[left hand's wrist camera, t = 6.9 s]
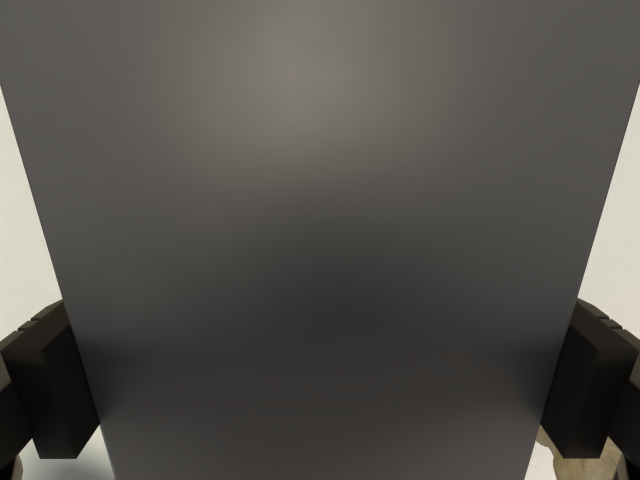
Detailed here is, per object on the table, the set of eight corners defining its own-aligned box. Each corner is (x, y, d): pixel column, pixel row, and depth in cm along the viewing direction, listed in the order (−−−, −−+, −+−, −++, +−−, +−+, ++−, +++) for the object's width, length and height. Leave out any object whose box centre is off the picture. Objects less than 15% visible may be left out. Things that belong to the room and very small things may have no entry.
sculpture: (514, 427, 31) (669, 702, 17) (489, 364, 29) (646, 622, 15) (585, 405, 30) (813, 677, 16) (566, 338, 28) (813, 588, 14)
